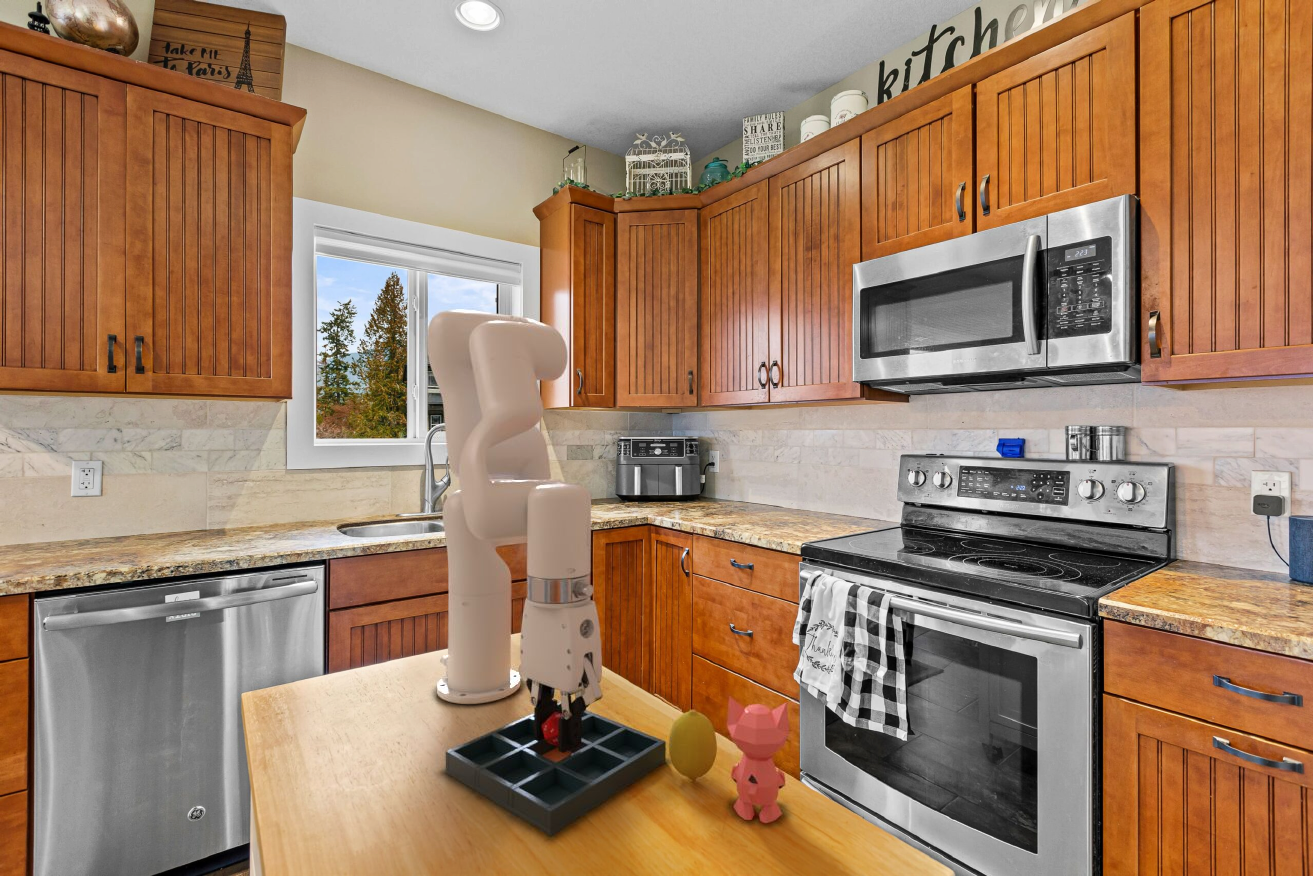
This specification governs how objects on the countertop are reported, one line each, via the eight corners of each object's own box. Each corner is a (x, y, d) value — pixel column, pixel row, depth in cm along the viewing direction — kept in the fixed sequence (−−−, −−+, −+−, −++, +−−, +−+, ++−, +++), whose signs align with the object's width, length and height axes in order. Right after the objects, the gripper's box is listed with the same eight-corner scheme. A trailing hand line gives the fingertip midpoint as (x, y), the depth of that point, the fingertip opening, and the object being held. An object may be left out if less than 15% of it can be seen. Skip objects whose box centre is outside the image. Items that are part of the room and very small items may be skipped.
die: (531, 739, 72) (551, 713, 72) (540, 725, 75) (559, 700, 75) (555, 759, 71) (575, 733, 71) (563, 745, 75) (582, 720, 75)
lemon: (713, 796, 67) (714, 723, 67) (664, 790, 68) (664, 718, 69) (718, 770, 73) (719, 702, 73) (672, 765, 74) (673, 698, 74)
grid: (445, 772, 72) (445, 751, 72) (562, 718, 86) (562, 700, 86) (550, 837, 60) (550, 811, 60) (665, 761, 75) (666, 741, 75)
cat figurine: (792, 800, 67) (793, 689, 67) (790, 840, 60) (791, 716, 60) (727, 791, 68) (728, 683, 69) (718, 828, 62) (719, 708, 62)
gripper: (631, 593, 71) (630, 752, 71) (537, 573, 82) (536, 712, 81) (585, 606, 65) (584, 780, 65) (490, 583, 76) (489, 733, 76)
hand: (557, 740), depth 73 cm, fingers closed on die, 3 cm apart
